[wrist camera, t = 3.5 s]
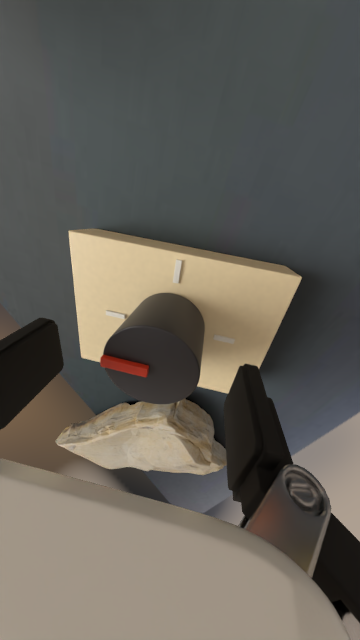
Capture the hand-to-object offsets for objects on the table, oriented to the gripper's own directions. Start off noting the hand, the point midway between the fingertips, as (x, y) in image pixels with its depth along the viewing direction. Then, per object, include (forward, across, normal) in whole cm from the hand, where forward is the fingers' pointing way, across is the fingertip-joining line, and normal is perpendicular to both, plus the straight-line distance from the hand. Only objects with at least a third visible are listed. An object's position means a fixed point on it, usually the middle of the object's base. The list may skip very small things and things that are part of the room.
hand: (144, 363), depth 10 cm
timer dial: (+4, 0, 0) cm, 4 cm away
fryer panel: (+7, 0, 0) cm, 7 cm away
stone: (+8, +2, +16) cm, 18 cm away
